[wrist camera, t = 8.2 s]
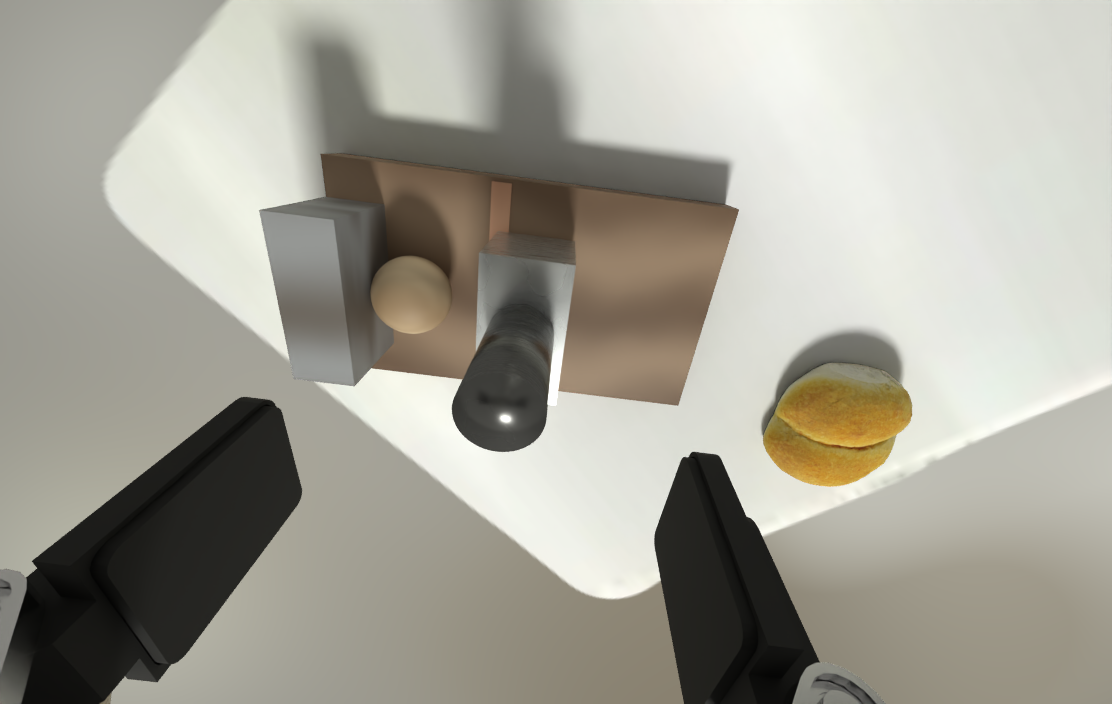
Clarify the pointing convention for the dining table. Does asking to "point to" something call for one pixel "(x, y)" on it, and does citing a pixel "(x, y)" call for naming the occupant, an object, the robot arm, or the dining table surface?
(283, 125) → the dining table surface
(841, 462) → the bread roll
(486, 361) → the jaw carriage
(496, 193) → the base
